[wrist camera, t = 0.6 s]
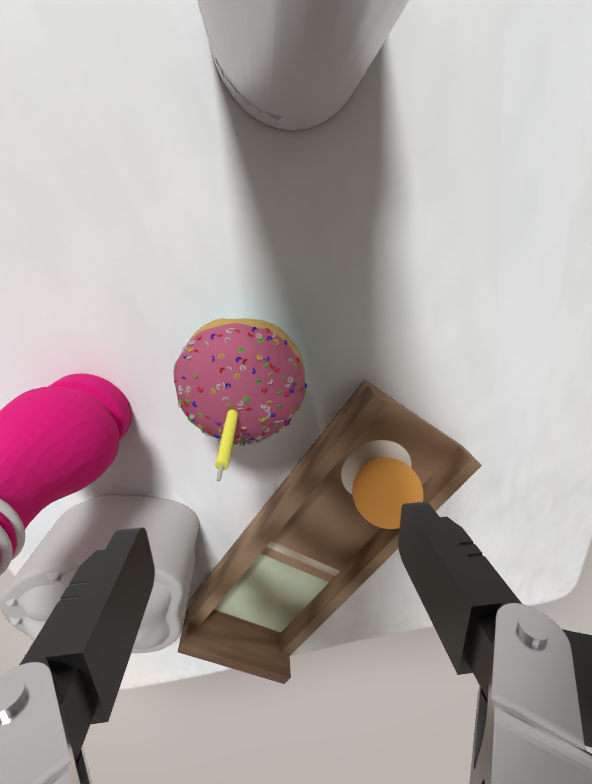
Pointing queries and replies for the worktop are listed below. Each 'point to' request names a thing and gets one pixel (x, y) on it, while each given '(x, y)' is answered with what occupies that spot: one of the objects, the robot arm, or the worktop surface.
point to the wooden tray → (314, 539)
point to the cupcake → (239, 382)
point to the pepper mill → (54, 448)
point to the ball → (385, 491)
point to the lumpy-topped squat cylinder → (93, 532)
